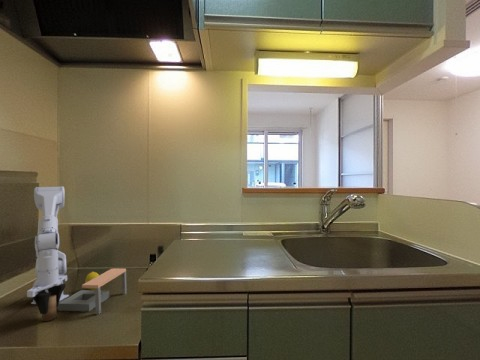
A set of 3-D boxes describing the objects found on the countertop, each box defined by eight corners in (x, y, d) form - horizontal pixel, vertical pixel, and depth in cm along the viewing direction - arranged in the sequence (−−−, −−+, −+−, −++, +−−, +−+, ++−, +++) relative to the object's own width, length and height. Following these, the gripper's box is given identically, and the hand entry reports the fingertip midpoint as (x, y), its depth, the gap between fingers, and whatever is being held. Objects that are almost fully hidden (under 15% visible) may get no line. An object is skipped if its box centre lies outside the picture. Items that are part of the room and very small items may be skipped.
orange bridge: (82, 314, 96) (81, 284, 96) (112, 293, 114) (112, 268, 114) (99, 314, 95) (98, 285, 95) (126, 293, 113) (126, 268, 113)
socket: (57, 310, 99) (57, 303, 99) (81, 296, 111) (80, 290, 111) (89, 311, 98) (89, 304, 98) (109, 297, 110) (109, 290, 110)
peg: (39, 320, 91) (38, 299, 91) (48, 314, 95) (48, 294, 95) (50, 321, 91) (49, 299, 91) (59, 315, 95) (59, 294, 95)
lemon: (94, 293, 114) (93, 273, 114) (82, 292, 115) (81, 273, 115) (103, 288, 119) (102, 269, 119) (92, 287, 120) (91, 269, 120)
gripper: (41, 276, 85) (42, 321, 85) (74, 262, 100) (75, 300, 100) (20, 276, 86) (21, 320, 86) (56, 262, 101) (57, 300, 101)
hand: (49, 310), depth 93 cm, fingers closed on peg, 4 cm apart
